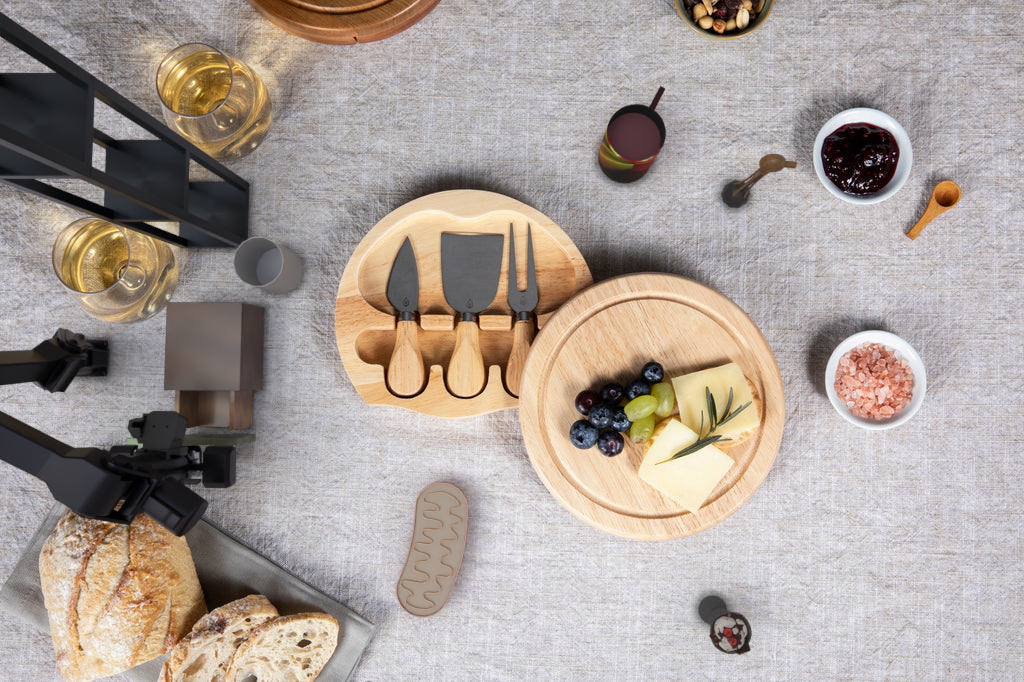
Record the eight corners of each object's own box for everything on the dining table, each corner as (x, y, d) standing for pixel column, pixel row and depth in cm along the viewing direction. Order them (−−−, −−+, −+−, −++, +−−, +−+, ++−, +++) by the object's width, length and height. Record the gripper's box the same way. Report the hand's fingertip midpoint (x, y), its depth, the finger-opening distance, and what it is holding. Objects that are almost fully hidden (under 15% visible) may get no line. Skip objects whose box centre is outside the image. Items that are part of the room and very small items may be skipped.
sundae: (691, 592, 116) (716, 625, 101) (729, 589, 116) (760, 621, 101) (694, 630, 115) (720, 669, 100) (733, 627, 115) (764, 665, 100)
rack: (181, 248, 120) (-234, 98, 54) (183, 182, 121) (-225, -45, 55) (247, 248, 120) (-89, 98, 54) (249, 183, 120) (-82, -46, 54)
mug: (654, 109, 120) (668, 80, 108) (650, 184, 119) (664, 164, 107) (600, 106, 120) (609, 77, 108) (596, 182, 119) (605, 161, 107)
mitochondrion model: (425, 472, 117) (421, 477, 112) (479, 485, 117) (478, 490, 112) (395, 600, 117) (390, 611, 112) (450, 613, 116) (447, 624, 111)
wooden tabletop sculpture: (755, 184, 119) (802, 146, 99) (752, 209, 119) (799, 176, 99) (722, 180, 119) (762, 142, 99) (719, 206, 119) (759, 172, 99)
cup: (297, 298, 119) (276, 291, 109) (253, 289, 119) (228, 281, 110) (307, 252, 120) (287, 241, 110) (263, 243, 120) (239, 232, 110)
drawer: (255, 467, 117) (236, 474, 109) (191, 466, 117) (167, 473, 110) (257, 364, 118) (239, 363, 110) (194, 363, 118) (171, 363, 110)
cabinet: (262, 389, 119) (239, 390, 109) (192, 388, 119) (163, 390, 109) (264, 307, 119) (242, 302, 110) (195, 307, 120) (166, 301, 110)
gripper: (212, 416, 94) (256, 410, 109) (81, 415, 94) (144, 409, 110) (210, 496, 93) (255, 478, 109) (78, 495, 93) (142, 477, 109)
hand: (199, 458), depth 109 cm, fingers closed
